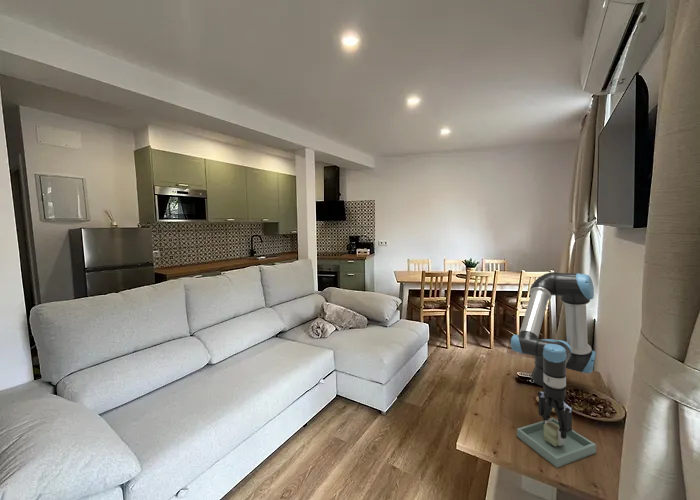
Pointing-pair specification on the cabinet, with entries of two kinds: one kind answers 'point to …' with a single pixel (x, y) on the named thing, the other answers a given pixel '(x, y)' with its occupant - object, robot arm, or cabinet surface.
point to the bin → (556, 455)
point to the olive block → (551, 433)
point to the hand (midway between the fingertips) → (554, 439)
